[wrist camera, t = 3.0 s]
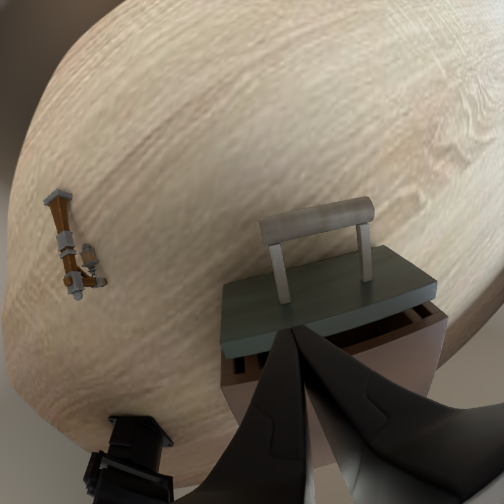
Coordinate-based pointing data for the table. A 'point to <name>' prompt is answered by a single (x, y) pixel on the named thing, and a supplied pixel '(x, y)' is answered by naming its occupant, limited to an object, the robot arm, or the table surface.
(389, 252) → the drawer
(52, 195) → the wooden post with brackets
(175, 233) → the table surface
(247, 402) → the cabinet
